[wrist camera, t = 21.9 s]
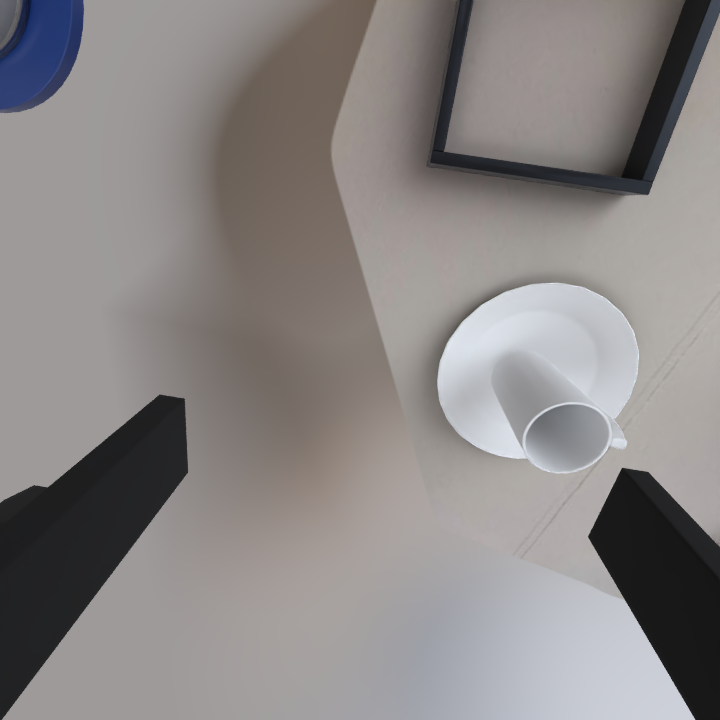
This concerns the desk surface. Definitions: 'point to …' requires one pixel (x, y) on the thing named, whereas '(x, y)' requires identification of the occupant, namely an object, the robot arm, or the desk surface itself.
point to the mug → (552, 415)
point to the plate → (541, 335)
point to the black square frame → (653, 131)
